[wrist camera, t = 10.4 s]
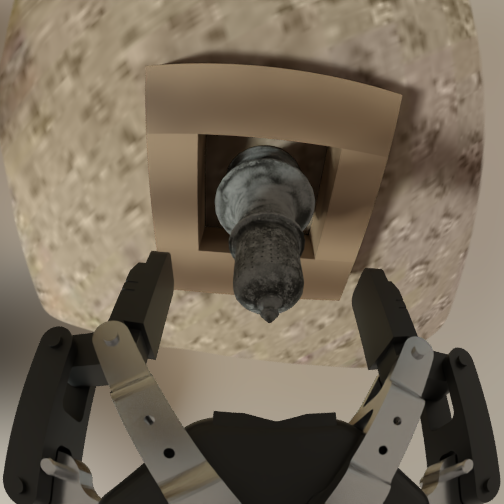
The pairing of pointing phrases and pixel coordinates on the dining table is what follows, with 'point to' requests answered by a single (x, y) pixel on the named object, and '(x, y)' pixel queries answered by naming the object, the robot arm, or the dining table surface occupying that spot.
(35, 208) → the dining table surface
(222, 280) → the tan picture frame
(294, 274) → the grey tall tiered piece
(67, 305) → the dining table surface
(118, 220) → the dining table surface
